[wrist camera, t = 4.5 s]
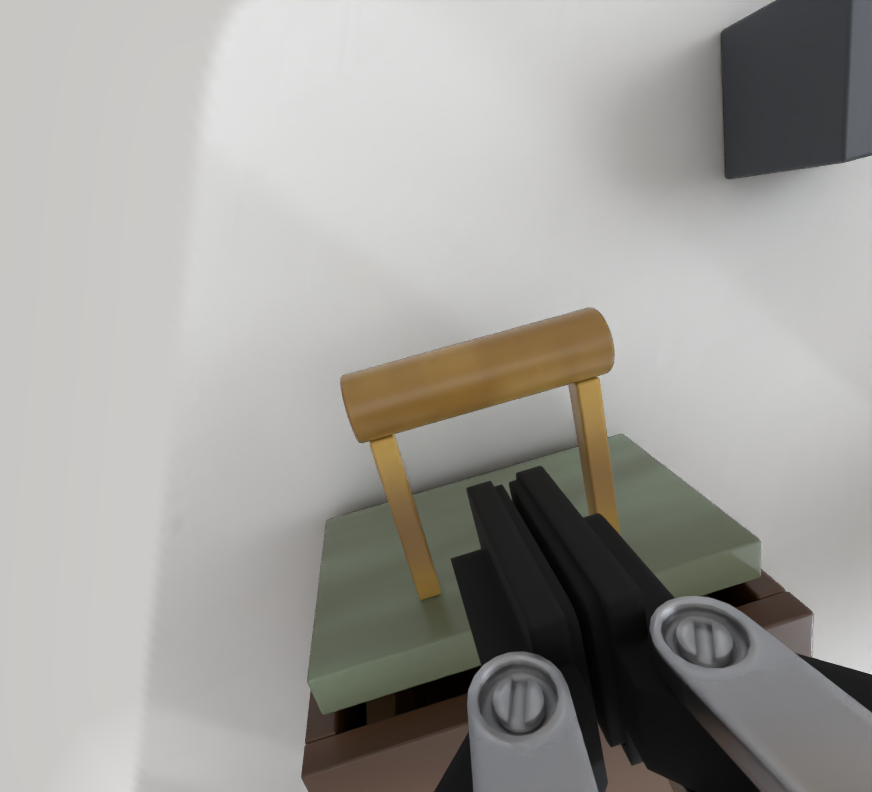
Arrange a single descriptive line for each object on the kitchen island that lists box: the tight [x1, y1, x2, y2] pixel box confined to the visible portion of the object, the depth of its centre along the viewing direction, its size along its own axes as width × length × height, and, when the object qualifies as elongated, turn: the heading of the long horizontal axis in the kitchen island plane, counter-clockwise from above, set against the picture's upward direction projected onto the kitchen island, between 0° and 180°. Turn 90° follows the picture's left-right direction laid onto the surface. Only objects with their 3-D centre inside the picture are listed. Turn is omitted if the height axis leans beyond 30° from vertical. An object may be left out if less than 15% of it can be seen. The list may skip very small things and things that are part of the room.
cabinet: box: [301, 569, 813, 792], centre depth 18 cm, size 15×13×9 cm
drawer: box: [307, 308, 761, 725], centre depth 16 cm, size 20×11×7 cm, turn 14°
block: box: [721, 0, 872, 179], centre depth 14 cm, size 4×4×4 cm
